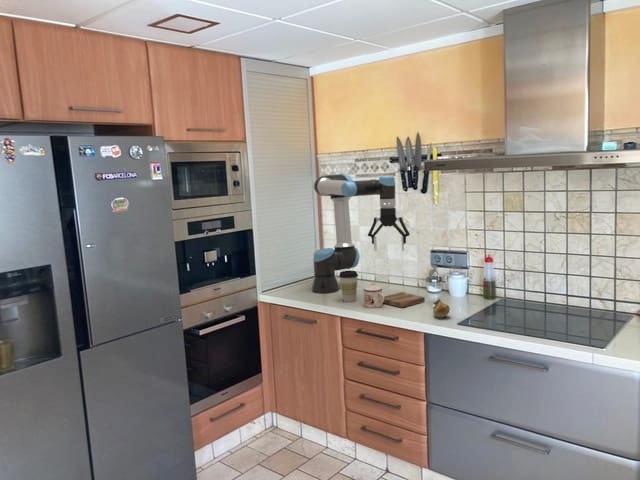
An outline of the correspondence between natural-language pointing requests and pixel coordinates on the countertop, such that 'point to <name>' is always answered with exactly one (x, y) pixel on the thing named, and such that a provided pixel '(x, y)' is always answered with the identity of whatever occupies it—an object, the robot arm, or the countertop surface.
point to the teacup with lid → (373, 296)
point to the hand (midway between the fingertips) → (389, 250)
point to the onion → (440, 309)
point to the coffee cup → (348, 285)
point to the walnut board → (403, 299)
